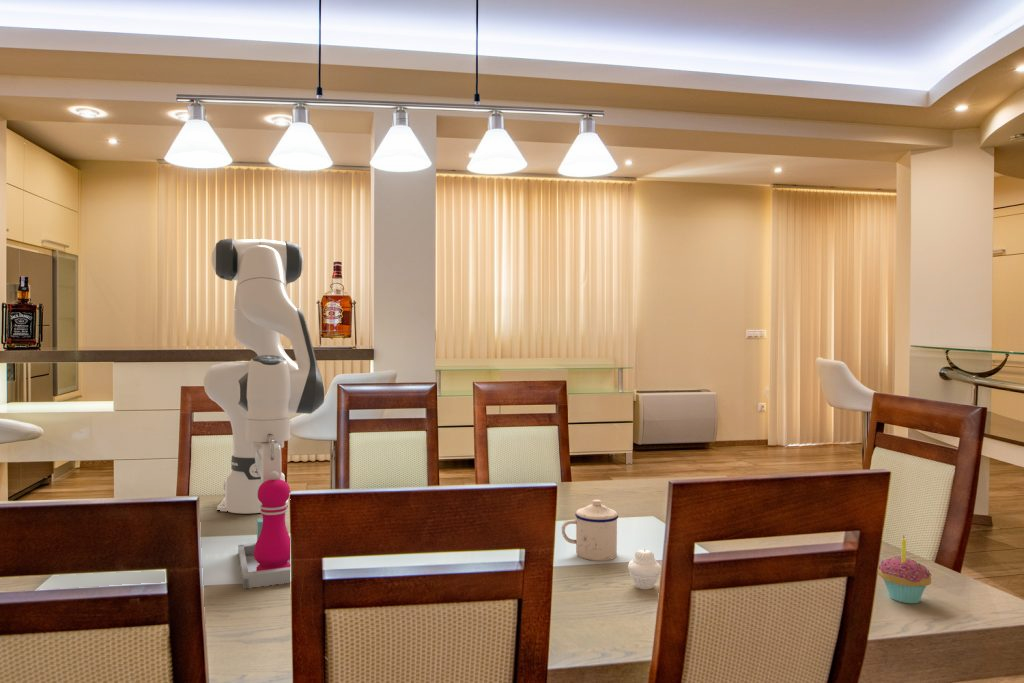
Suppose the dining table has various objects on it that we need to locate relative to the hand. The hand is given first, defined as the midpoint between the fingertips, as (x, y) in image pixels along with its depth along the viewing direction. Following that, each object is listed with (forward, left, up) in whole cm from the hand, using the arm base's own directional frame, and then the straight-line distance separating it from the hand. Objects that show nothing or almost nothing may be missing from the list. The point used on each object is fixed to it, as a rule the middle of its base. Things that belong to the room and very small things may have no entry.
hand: (267, 497), depth 144 cm
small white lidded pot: (+47, +63, -12) cm, 80 cm away
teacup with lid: (+27, +63, -12) cm, 70 cm away
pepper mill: (+14, 0, -12) cm, 18 cm away
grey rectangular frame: (+9, 0, -12) cm, 15 cm away
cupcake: (+70, +103, -12) cm, 125 cm away
